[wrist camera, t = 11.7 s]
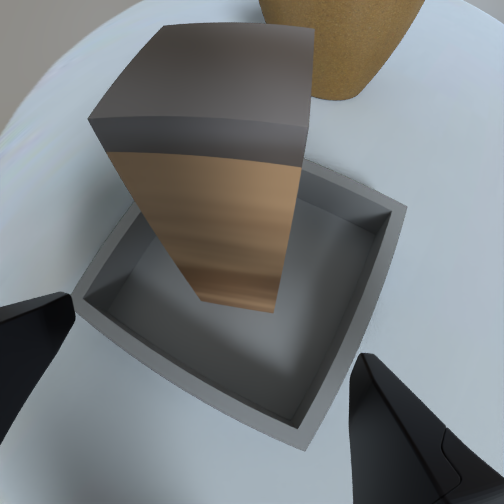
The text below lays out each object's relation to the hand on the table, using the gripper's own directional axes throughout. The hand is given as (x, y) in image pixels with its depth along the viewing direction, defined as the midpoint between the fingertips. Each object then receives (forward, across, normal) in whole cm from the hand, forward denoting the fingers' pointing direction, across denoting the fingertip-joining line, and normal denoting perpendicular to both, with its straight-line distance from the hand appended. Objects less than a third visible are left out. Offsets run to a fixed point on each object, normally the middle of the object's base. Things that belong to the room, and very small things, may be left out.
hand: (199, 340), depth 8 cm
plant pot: (+24, -4, -12) cm, 27 cm away
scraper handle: (+9, 0, +2) cm, 9 cm away
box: (+9, 0, +2) cm, 10 cm away
